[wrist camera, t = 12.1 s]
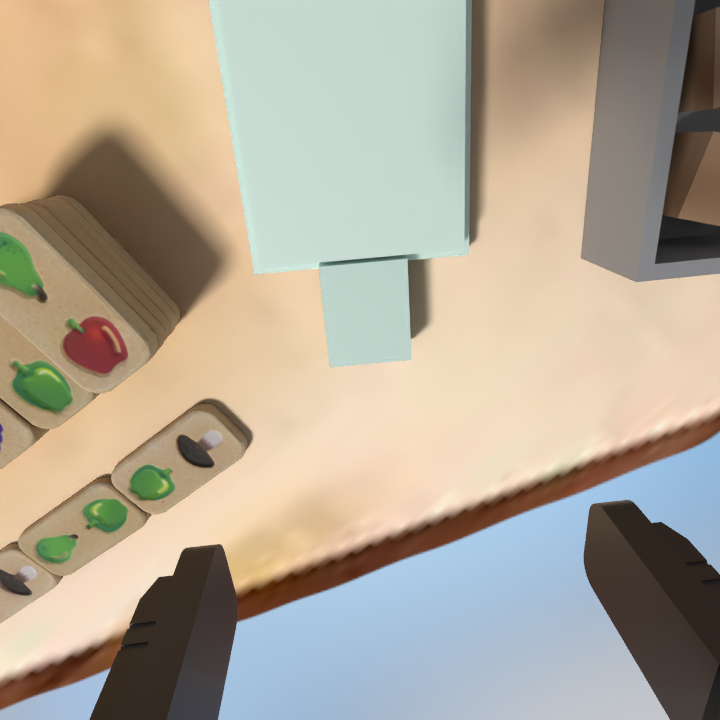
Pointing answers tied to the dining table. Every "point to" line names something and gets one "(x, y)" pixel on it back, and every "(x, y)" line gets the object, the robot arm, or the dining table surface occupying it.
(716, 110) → the tub
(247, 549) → the dining table surface
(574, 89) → the dining table surface
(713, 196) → the walnut block
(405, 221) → the lid
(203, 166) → the dining table surface
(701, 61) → the walnut block
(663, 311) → the dining table surface
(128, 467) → the pile of dominoes
